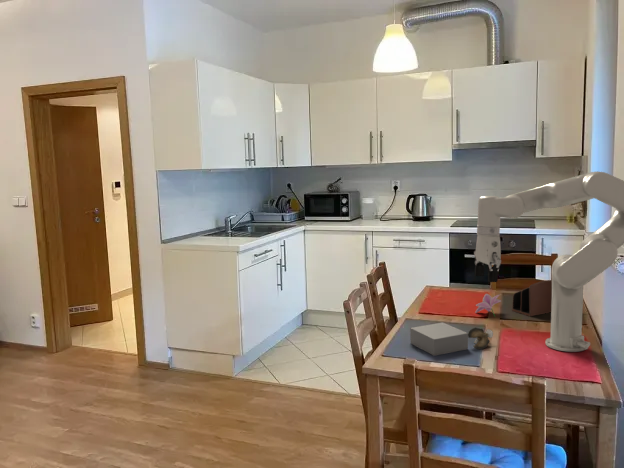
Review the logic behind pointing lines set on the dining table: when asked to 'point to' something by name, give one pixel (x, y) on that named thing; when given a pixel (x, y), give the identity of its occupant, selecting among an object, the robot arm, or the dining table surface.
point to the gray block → (439, 338)
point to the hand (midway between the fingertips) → (485, 278)
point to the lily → (487, 303)
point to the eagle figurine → (480, 337)
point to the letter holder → (534, 299)
